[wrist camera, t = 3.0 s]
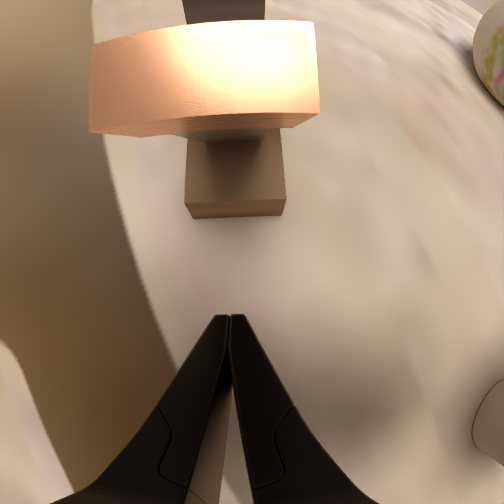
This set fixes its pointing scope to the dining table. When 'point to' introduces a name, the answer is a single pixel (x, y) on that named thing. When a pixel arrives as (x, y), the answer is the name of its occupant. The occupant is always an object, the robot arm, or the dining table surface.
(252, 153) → the stand
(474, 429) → the coffee cup
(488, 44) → the decorative egg
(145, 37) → the block
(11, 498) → the dining table surface
